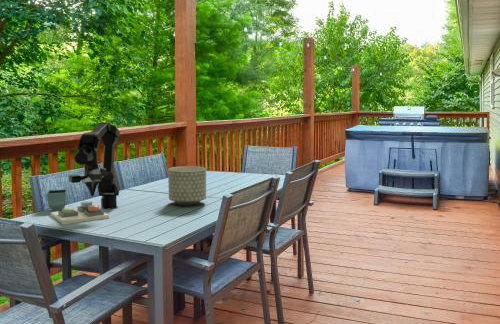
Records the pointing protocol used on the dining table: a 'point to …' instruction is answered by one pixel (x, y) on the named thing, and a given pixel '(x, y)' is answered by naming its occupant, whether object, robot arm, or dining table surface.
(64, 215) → the button panel
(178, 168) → the planter
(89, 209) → the brick button
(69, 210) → the sage button
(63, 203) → the flower pot
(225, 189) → the dining table surface
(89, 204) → the slate button
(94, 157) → the robot arm
